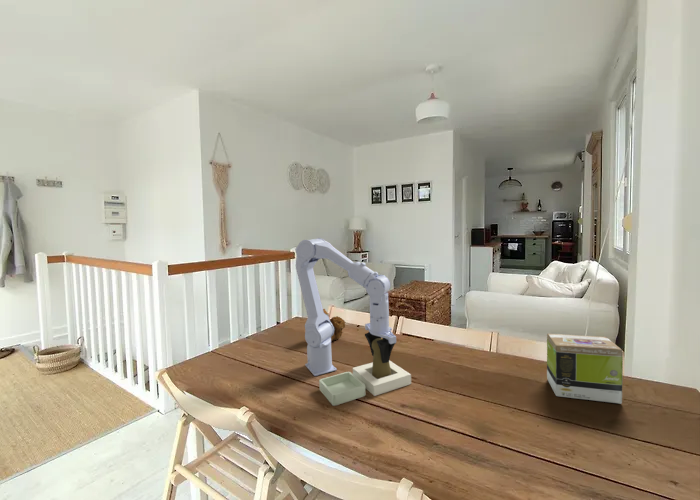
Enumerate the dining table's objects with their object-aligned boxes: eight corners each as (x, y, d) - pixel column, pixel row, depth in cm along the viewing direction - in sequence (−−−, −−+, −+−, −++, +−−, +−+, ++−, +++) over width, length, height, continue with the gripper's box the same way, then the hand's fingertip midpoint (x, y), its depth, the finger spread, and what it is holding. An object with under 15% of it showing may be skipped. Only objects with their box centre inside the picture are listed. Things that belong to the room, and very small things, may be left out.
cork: (390, 379, 96) (388, 343, 95) (370, 378, 97) (368, 343, 96) (392, 370, 102) (390, 336, 101) (373, 369, 103) (371, 336, 102)
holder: (352, 376, 103) (352, 367, 102) (387, 367, 109) (386, 358, 108) (374, 396, 91) (374, 385, 91) (411, 383, 97) (411, 374, 97)
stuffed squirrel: (310, 337, 139) (308, 307, 137) (342, 333, 142) (341, 304, 141) (313, 346, 129) (312, 314, 128) (347, 342, 132) (346, 310, 131)
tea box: (606, 386, 92) (608, 335, 90) (622, 405, 82) (625, 349, 81) (545, 379, 97) (546, 331, 95) (554, 397, 87) (556, 344, 86)
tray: (319, 389, 96) (318, 379, 96) (349, 380, 100) (349, 371, 100) (333, 406, 87) (332, 395, 87) (366, 395, 91) (365, 385, 91)
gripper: (404, 319, 93) (405, 364, 95) (377, 308, 106) (378, 347, 107) (384, 323, 90) (385, 370, 91) (359, 311, 103) (360, 352, 104)
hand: (380, 358), depth 99 cm, fingers closed on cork, 5 cm apart
